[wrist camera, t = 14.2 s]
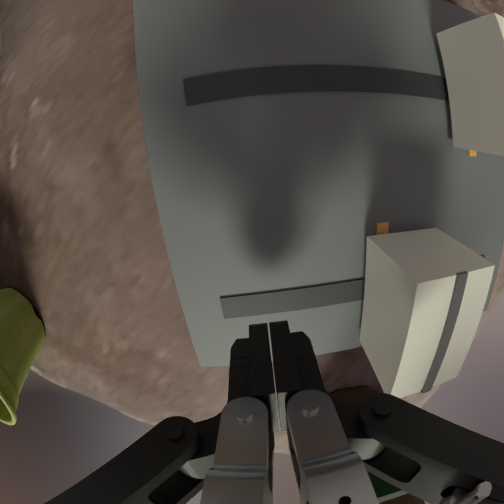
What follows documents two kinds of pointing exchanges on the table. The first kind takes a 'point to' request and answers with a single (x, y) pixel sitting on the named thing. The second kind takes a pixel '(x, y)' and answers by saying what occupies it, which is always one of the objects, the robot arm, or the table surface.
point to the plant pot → (16, 348)
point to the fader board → (301, 156)
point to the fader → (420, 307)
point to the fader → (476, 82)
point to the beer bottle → (389, 496)
